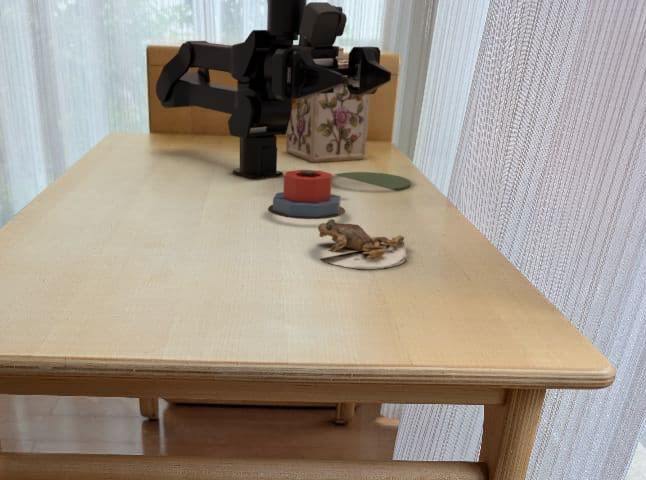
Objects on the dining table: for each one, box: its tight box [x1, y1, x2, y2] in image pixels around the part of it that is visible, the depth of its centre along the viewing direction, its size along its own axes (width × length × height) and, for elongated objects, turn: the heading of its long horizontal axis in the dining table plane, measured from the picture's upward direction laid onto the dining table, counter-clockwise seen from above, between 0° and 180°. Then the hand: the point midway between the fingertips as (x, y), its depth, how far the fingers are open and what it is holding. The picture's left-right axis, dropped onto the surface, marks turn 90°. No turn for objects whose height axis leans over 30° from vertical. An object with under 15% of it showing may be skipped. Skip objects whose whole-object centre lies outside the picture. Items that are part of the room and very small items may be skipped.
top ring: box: [283, 169, 333, 203], centre depth 114 cm, size 6×6×3 cm
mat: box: [333, 171, 411, 192], centre depth 136 cm, size 14×14×1 cm
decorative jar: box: [285, 46, 371, 163], centre depth 151 cm, size 12×12×18 cm
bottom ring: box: [272, 191, 342, 218], centre depth 115 cm, size 9×9×2 cm
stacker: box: [267, 169, 346, 220], centre depth 114 cm, size 11×11×6 cm
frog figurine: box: [317, 218, 408, 270], centre depth 99 cm, size 12×12×4 cm
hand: (366, 78), depth 114 cm, fingers open, 9 cm apart
